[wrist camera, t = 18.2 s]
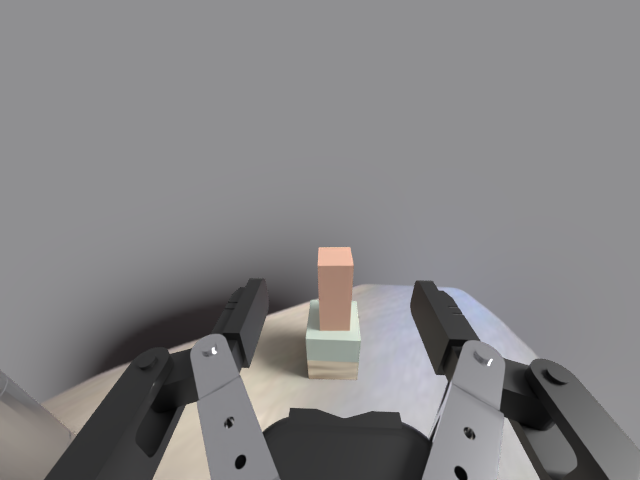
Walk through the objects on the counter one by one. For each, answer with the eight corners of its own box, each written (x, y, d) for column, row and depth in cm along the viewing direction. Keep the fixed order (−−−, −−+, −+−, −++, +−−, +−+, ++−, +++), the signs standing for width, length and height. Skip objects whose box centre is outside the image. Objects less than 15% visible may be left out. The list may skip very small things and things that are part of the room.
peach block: (349, 330, 34) (353, 265, 29) (319, 330, 34) (317, 265, 29) (347, 308, 38) (350, 247, 32) (320, 308, 38) (318, 247, 33)
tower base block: (356, 380, 38) (358, 361, 35) (308, 379, 38) (307, 360, 36) (352, 338, 45) (354, 320, 42) (312, 338, 45) (311, 320, 43)
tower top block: (358, 362, 35) (360, 340, 33) (307, 360, 36) (305, 338, 33) (354, 321, 42) (356, 301, 40) (311, 320, 43) (310, 300, 40)
